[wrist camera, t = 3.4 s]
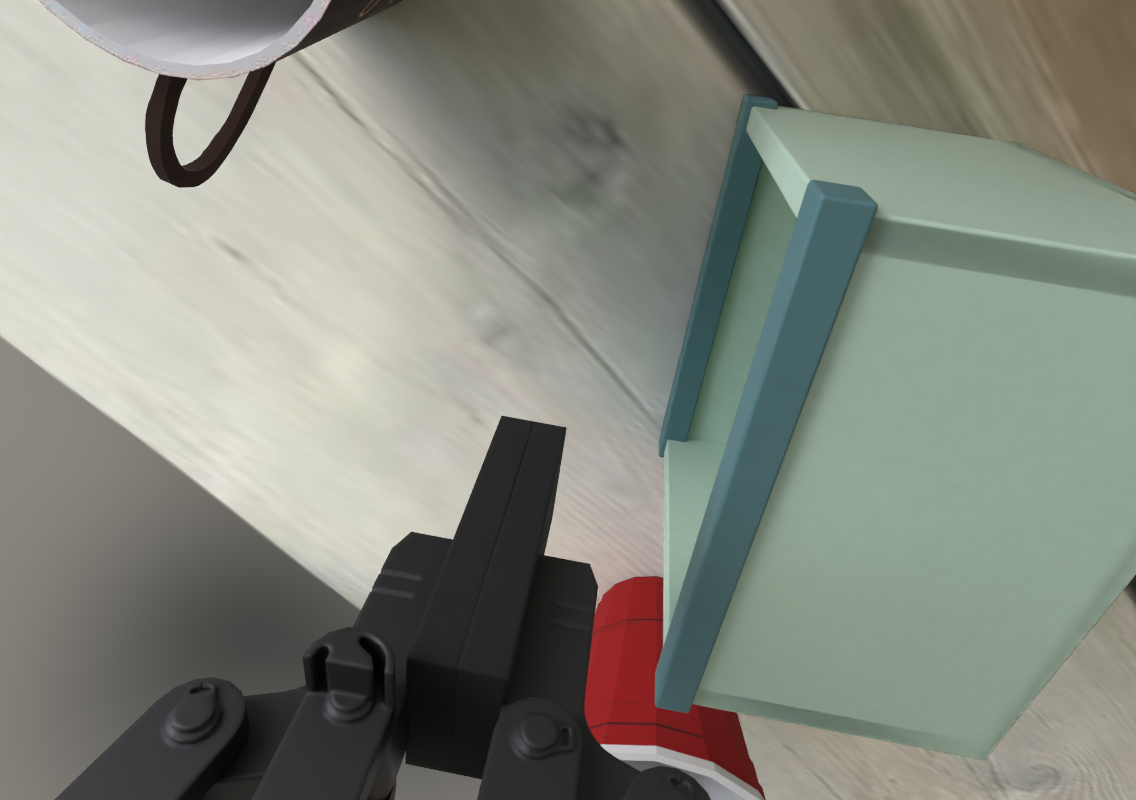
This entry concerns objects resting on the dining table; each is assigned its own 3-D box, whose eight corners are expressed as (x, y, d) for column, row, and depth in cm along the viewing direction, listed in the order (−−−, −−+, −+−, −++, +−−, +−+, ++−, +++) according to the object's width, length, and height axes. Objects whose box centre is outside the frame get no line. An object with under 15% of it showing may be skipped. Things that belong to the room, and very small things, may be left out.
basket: (743, 93, 22) (821, 194, 11) (1022, 137, 22) (1389, 286, 11) (658, 441, 30) (654, 708, 19) (864, 477, 30) (984, 772, 18)
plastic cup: (724, 514, 32) (752, 761, 21) (776, 662, 36) (818, 921, 26) (517, 556, 35) (456, 789, 25) (590, 688, 40) (563, 928, 29)
